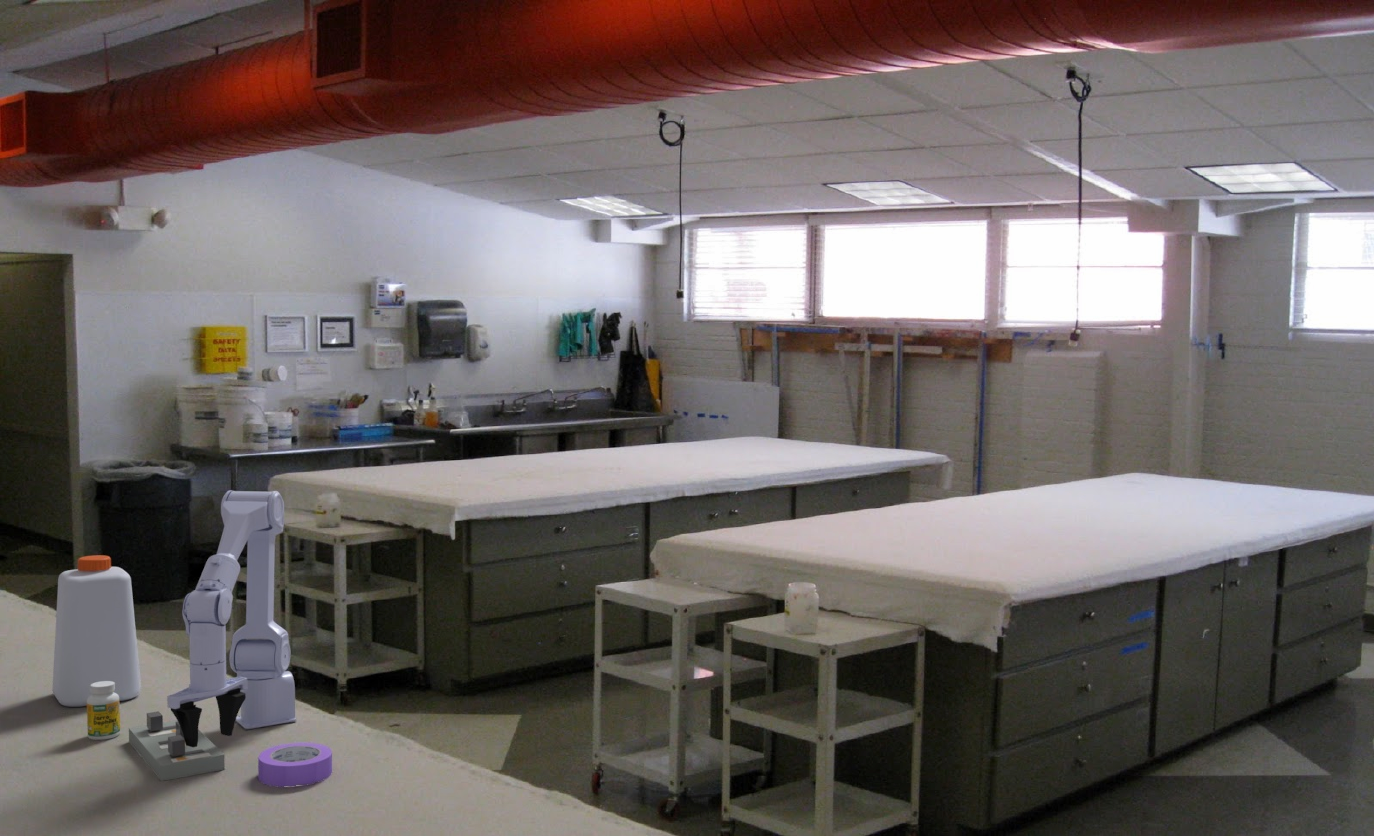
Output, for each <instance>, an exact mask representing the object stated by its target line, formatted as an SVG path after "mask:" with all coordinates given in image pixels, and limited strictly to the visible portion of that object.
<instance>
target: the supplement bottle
mask: <svg viewBox="0 0 1374 836" xmlns="http://www.w3.org/2000/svg"><path fill="white" fill-rule="evenodd" d="M114 690H115V683H114V682H112V681H101V682H96V683H93V684H91V685H90V692H91V693H92V695H91V696H89V697H88V699H87V706H86V718H87V721H86V722H87V737H88V738H89V739H90V740H92V741H93V740H94V741H105V740H110V739H113V738H116V737H118V736H119V735H120V734H121V711H120V710H121V709H120V701H119V696H118V694H116V693H114V692H113V691H114Z"/></svg>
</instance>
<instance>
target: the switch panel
mask: <svg viewBox="0 0 1374 836" xmlns="http://www.w3.org/2000/svg"><path fill="white" fill-rule="evenodd" d="M177 721H178V720H177V719H175V720H170V721H163V729H162V730H156V731H150V730H149V729H148V728H147V724H145V725H138V726H133V727H128V743H130V745H131V746H132V747H133V749H134V750H135V751H136V752H137V753H138V754H139V756H140V757H141V758H142V759H143V761H144V762H145V763H146V764H147V765H148V766H149V768H150V770H152V771H153V773H154V774H155V775H156V776H157V777H158V779H159V781H161V782H165V781H169V780H173V779H180V778H186V777H191V776H196V775H200V774H201V775H202V774H207V773H212V772H218V771H224V770H225V769H226V768H225V753H223V752H222V751H221V749H219V748H218V747H217V745H215V744H214V743H213V742H212V741H211V740H210V739H209V738H208V737H207V736H206V735H205V734H204V733H202V731H201V730H200V729H199V728H198V744H197V747H190V746H186V743H185V755H179V756H173V757H172V756H171V754H170V753H169V752H168V737H171V736H176V722H177Z"/></svg>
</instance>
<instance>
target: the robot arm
mask: <svg viewBox="0 0 1374 836" xmlns="http://www.w3.org/2000/svg"><path fill="white" fill-rule="evenodd" d="M220 515H221V518H222V523H223V526H224V527H223V530H222V534H221V537H220V541H219V545H218V548H217V551H216V554H213V555H210V556H209V557H208V559H207V561H206V562H205V564H204V568H203V570H202V572H201V575H200V577H199V580H198V582H197V584H196V586H195V590H192V591H191V592H189V593H187V594H186V595H185V597H184V600H183V603H182V612H181V614H182V618H183V622H184V625H185V633H186V635H187V636H188V637H189V684H188V687H186V688H184V689H182V690H179V691H178V692H175V693H173V694H170V695H167V697H166V700H167V703H166V704H167V708H168V709H170V711H171V712H172V714H173V715H174V718H176V719H175V720H178V722H179V724H180V727H181V729H182V732H183V735H184V739H185V743H186V746H190V747H197V744H198V729H199V724H200V718H201V716H202V715H201V714H202V711H203V708H201V707H198V706H197V705H196V704H195V703H197V702H200V701H204V700H207V699H211V698H215V700H216V702H217V706H218V707H217V708H218V716H219V730H220V734H221V735H222V736H225V737H232V736H233V732H234V728H235V723H236V722H237V724H239V725H240V726H241V727H243V728H244V729H245V730H250V729H257V728H263V727H268V726H274V725H280V724H287V723H292V722H293V723H294V722H296V721H297V718H296V687H295V680H294V679H295V678H294V676H293V673H292V672H291V671H289V670H287V669H288V668H289V666H290V663H291V655H292V654H291V646H290V641H289V639H290V638H289V632H288V631H287V630H286V629H284V628H283V627H281V626H280V625H279V624H277V623H276V622H275V621H274V611H275V610H274V607H275V606H274V602H275V600H274V599H275V559H276V558H275V553H276V551H275V549H276V547H275V546H276V536H277V535H280V534H282V533H283V532H284V527H285V526H284V525H285V501H284V499H283V497H282V495H281V493H280V492H279V491H278V490H273V491H252V490H250V491H249V490H248V491H247V490H246V491H244V490H243V491H242V490H233V489H231V490H227V491H226V492H225V494H224V495H223V497H222V499H221V503H220ZM245 545H247V550H246V552H247V555H246V604H245V605H246V609H245V610H246V612H245V614H246V615H245V624H244V625H242V626H241V627H239V628H238V629H237V630H236V631H235V632H234V633H233V635H232V641H231V646H230V651H229V657H228V658H229V660H228V661H229V666H230V668H231V669H232V671H233V672H234V673H236V677H231V678H227V645H226V644H227V642H226V641H227V639H226V637H227V636H226V635H227V634H226V633H227V630H226V629H227V628H226V624H227V623H228V621H229V620H230V618H231V615H232V609H233V608H232V606H233V601H234V599H233V598H234V596H233V590H234V588H235V585H236V582H237V580H238V577H239V574H240V572H241V565H240V563H239V562H238V560H239V557H240V555H241V553H242V552H243V550H244V548H245ZM239 711H240V715H238V714H239Z"/></svg>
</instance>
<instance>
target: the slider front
mask: <svg viewBox="0 0 1374 836" xmlns="http://www.w3.org/2000/svg"><path fill="white" fill-rule="evenodd" d="M168 752H169V753H170V754H171V756H172V757H173V756H179V755H185V739H184V738H183V737H182V736H181V735H177V736H171V737H168Z"/></svg>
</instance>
